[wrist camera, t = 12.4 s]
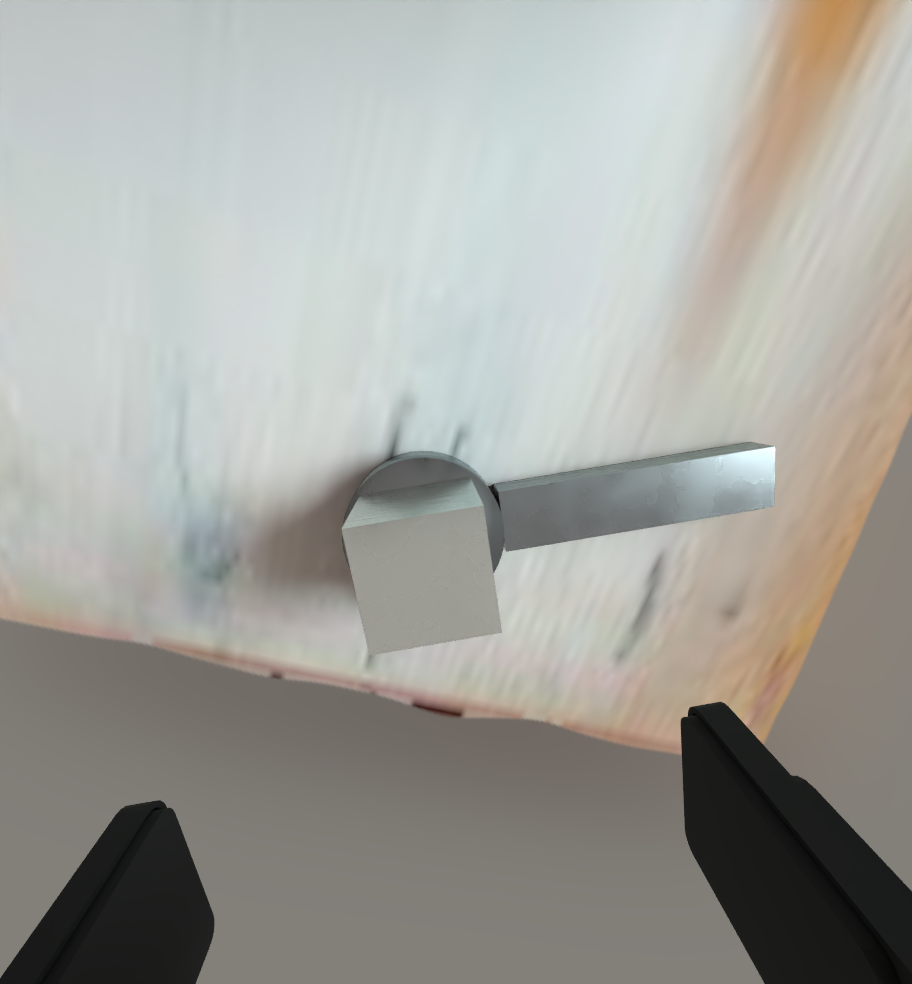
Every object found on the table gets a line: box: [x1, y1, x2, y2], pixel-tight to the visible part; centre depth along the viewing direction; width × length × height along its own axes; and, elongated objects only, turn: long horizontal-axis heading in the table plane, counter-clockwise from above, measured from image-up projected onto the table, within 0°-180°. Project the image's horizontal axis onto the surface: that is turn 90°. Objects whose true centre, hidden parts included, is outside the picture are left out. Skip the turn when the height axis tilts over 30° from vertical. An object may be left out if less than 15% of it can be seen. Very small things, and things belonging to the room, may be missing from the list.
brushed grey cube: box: [341, 477, 502, 655], centre depth 23 cm, size 6×6×6 cm
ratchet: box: [342, 442, 775, 573], centre depth 26 cm, size 25×9×6 cm, turn 99°
